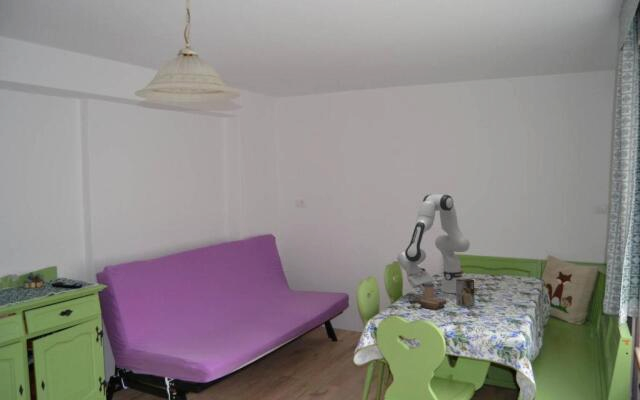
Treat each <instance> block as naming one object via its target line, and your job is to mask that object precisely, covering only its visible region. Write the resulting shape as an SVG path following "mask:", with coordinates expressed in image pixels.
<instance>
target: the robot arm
mask: <svg viewBox="0 0 640 400" xmlns="http://www.w3.org/2000/svg"><path fill="white" fill-rule="evenodd" d="M436 211H439V218H440V226H441V229H442V230H443V231H444V232H445V233H446V234H442V235H438V236H437V237H436V239H435V240H434V241H435V242H434V245H435V247H436V249H437V250H438V251H439V252H440V254H441V255H442V259H443V278H441V279H442V280H441V287H440V288H439V289H440V290H441V292H442V293H447V294H456V279H465V277H463V275H464V271H463V270H461V259H460V258H459V257H458V256H457V255H456V254H455V253H465V252H467V251H468V250H469V249H470V247H471V245H470V244H471V243H470V241H469V239H468V238H467V237H466V236H465V235H464V234H463V233H462V231H461V229H460V227H459V223H458V217H457V211H456V208H455V204H454V199H453V197H452V196H451V195H448V194H442V193H441V194H440V193H439V194H434V193H433V194H427V195H425V196H424V197H423V199H422V203H421V204H420V207H419V210H418V213H417V217H416V222H415V227H414V230H413V233H412V236H411V240H410V242H409V244H408V246H407V248H406V249H405V251H401V252H400V253H399V254H398V256H396V257H397V258H396V259H397V263H398V264H399V266H400V267H401V268H402V269H403V270H404V271H405V274H406V279H407V281H408V283H409V285H410V286H411V288H412V289H416V288H419V289H420V290H421V291H422V293H423V292H425V291H426V289H425V288H424V287H423V283H426V282H429V283H433V278H432V276H431V275H430V274H429V272H427V270H426V269H425V268H424V267H420V266H418V265H420V264H421V263H423V262H425V259H426V257H427V254H426V252H425V250H423V249H422V248H421V244H422V240H423V236H424V234H426V233H425V232H427V231H429V230H431V229H432V227H433V225H434V221H435V217H436Z"/></svg>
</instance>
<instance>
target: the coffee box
mask: <svg viewBox="0 0 640 400" xmlns="http://www.w3.org/2000/svg"><path fill="white" fill-rule="evenodd" d="M455 294H456V295H455V296H456V305H457V306H459V307H461V308H465V307H474V306H476V305H475V303H476V302H475V301H476V300H475V299H476V298H475V280H474V279H472V278H468V277H467V278H464V279H456V293H455Z"/></svg>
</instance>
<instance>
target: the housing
mask: <svg viewBox="0 0 640 400" xmlns="http://www.w3.org/2000/svg"><path fill="white" fill-rule="evenodd" d="M422 287H424V288H425V289H426V291H425V292H423V291H422V300H423V299H426V298H429V297H430V298H435V283H434V282H431V283H429V282H426V283H423V286H422Z"/></svg>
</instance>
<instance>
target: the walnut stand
mask: <svg viewBox="0 0 640 400" xmlns="http://www.w3.org/2000/svg"><path fill="white" fill-rule="evenodd" d="M446 304H447V300H446V299H439V298H435V297H434V298H430V297H429V298H426V299H423V298H422V299H420V300H418V305H420V308H422V309H423V308H424V309H428V310H434V311H436V310H439V309H442V308H444V306H445V305H446Z"/></svg>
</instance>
